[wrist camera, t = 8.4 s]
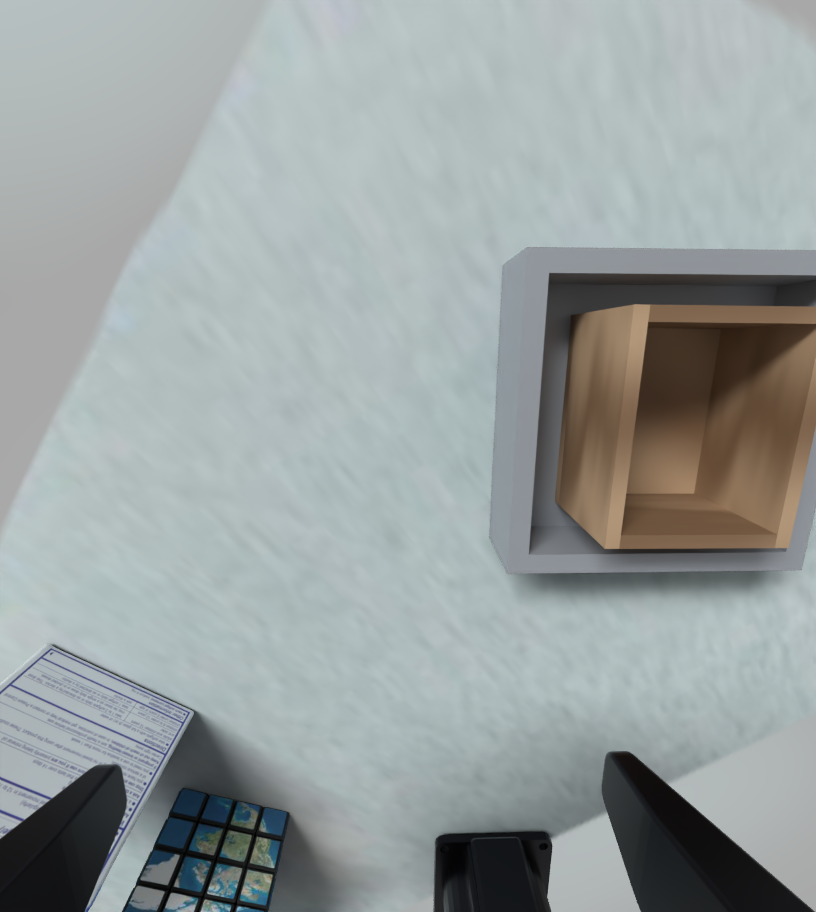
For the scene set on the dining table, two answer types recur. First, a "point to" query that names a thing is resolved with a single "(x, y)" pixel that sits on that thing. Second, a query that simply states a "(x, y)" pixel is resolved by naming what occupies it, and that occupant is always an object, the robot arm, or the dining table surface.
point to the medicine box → (80, 737)
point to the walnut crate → (688, 424)
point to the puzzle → (211, 858)
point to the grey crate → (543, 384)
